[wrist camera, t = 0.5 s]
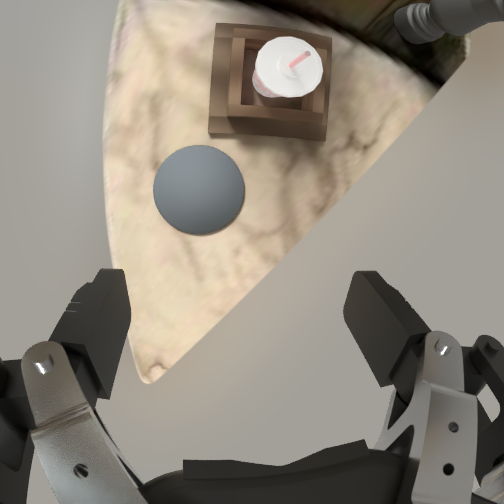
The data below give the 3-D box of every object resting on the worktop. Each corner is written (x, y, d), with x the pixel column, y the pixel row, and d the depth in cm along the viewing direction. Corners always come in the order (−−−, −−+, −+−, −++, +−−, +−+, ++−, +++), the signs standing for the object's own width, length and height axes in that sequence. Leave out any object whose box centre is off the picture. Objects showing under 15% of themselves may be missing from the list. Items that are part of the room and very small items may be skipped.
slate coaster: (153, 146, 31) (152, 146, 30) (245, 146, 32) (246, 146, 32) (156, 232, 35) (155, 233, 35) (241, 232, 37) (241, 234, 36)
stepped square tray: (215, 25, 25) (216, 12, 21) (329, 39, 27) (344, 30, 23) (208, 132, 31) (207, 133, 27) (323, 140, 33) (337, 143, 29)
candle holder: (431, 35, 26) (563, 24, 4) (412, 50, 28) (557, 38, 5) (407, 3, 24) (534, -30, 1) (386, 16, 25) (524, -25, 3)
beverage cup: (256, 110, 30) (283, 101, 18) (238, 65, 28) (253, 28, 15) (303, 95, 30) (356, 82, 18) (286, 51, 27) (329, 13, 15)
